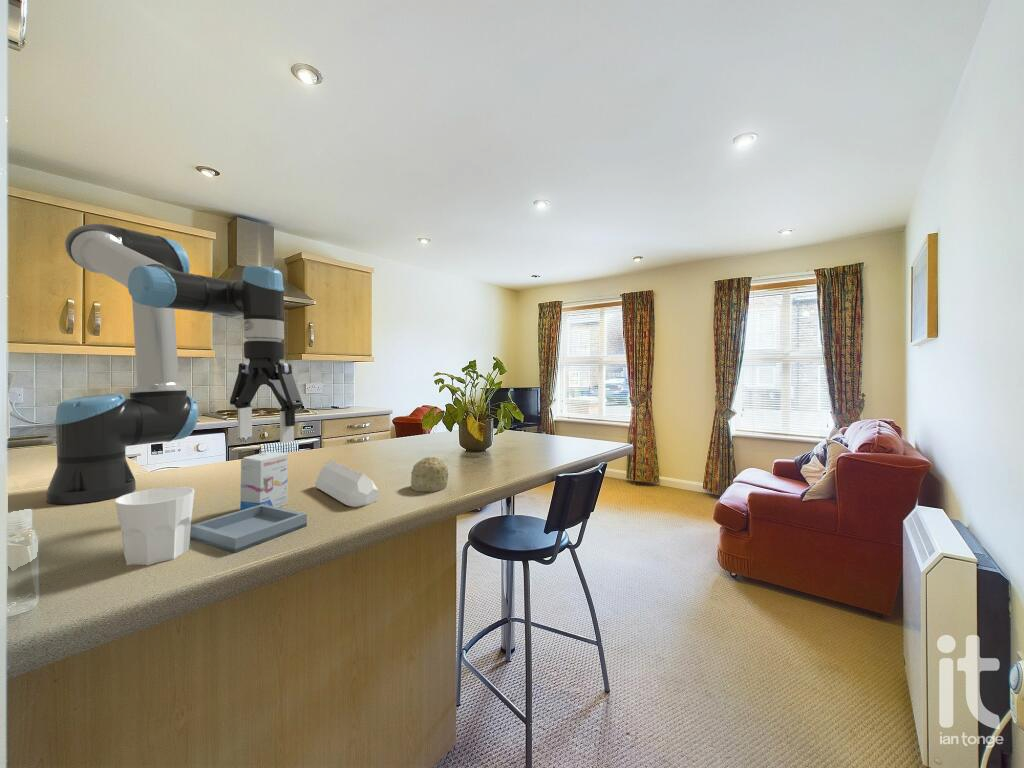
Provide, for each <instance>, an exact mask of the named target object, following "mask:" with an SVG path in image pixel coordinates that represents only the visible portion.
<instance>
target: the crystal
mask: <svg viewBox="0 0 1024 768" xmlns="http://www.w3.org/2000/svg"><path fill="white" fill-rule="evenodd" d="M315 488H317V489H319V490H320V491H322V492H324V493H325V494H328V495H329V496H330V497H332V498H333V499H335V500H337V501H339V502H341V503H342V504H344V505H346V506H349V507H353V508H356V507H363V506H368V505H371V504H374V503H375V502H377V500H379V489H378V487H377V486H376V485H375V483H374V481H373V480H372V478H370V477H368V476H367V475H365V474H364V473H362V472H359V471H357V470H355V469H353V468H350V467H349V466H346V465H344V464H341V463H339V462H336V461H334V460H332V459H330V460H328V461H327V462H325V463H324V465H323V467H322V468H321V470H320V472H319V473H318V475H317V477H316V481H315Z"/></svg>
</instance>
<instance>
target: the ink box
mask: <svg viewBox="0 0 1024 768" xmlns="http://www.w3.org/2000/svg"><path fill="white" fill-rule="evenodd" d="M288 472H289V453H286V452H278V451H266V452H262V453H256V454H253V455H248V456H243V458H242V459H240V508H239V509H240V510H239V511H241V510H244V509H247V508H251V507H254V506H258V505H261V504H265V505H270V506H274V507H279V508H282V507H283V506H285V505H287V504H288V487H289V486H288V479H289V478H288V477H289V476H288V474H289V473H288Z"/></svg>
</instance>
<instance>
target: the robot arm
mask: <svg viewBox="0 0 1024 768" xmlns="http://www.w3.org/2000/svg"><path fill="white" fill-rule="evenodd" d="M64 247H65V252H66V253H67V256H68V257H69V258H70V260H71V261H72V262H73V263H75V264H76V265H77V266H79V267H81V268H83V269H85V270H87V271H88V272H90V273H95V274H102V275H105V276H106V277H108V278H111V279H112V280H114V281H116V282H117V283H119V284H121V285H123V286H124V287H125V288H127V289H128V293H129V295H130V296H131V303H132V304H131V305H132V320H133V321H132V322H133V323H132V324H133V335H134V337H133V339H134V353H135V354H134V355H135V367H136V368H135V373H136V374H135V375H136V386H134V387H133V388H132V389H131V390H129V398H126V396H125V395H124V394H122V393H105V394H96V395H87V396H80V397H75V398H70V399H66V400H64V401H61V402H60V403H58V405H57V407H56V414H55V420H54V424H55V425H56V426H55V430H56V435H55V436H56V458H57V459H56V463H57V464H56V468H55V471H54V473H53V475H52V477H51V480H50V483H49V485H48V487H47V489H46V502H47V503H49V504H53V505H71V504H75V505H76V504H82V503H83V504H84V503H91V502H98V501H99V502H101V501H105V500H110V499H115V498H119V497H121V496H123V495H126V494H129V493H133V492H135V491H136V489H137V487H136V482H137V481H136V479H135V477H134V474H133V472H132V470H131V467H130V465H129V464H128V461H127V458H126V450H127V449H126V447H130V446H138V445H139V446H140V445H146V444H154V443H163V442H164V443H167V442H168V443H169V442H170V443H171V442H172V441H177V440H182V439H185V438H188V437H189V436H190V435H191V434H192V433H193V431H194V430H195V428H196V426H197V423H198V421H199V420H198V419H199V406H198V404H197V401H196V399H195V398H194V397H192V396H190V395H188V394H187V389H186V388H185V387H184V386H183V385H181V384H180V379H179V378H180V377H179V362H178V361H179V360H178V348H177V347H178V345H177V328H176V311H175V310H183V311H194V312H199V313H209V314H216V315H217V316H222V317H231V318H232V317H233V318H234V317H238V316H243V338H244V339H246V340H245V341H244V343H243V357H244V359H246V360H249V362H247V363H242V362H239V363H238V373H237V377H236V378H235V382H234V386H233V388H232V389H233V390H232V393H231V396H230V399H229V404H230V405H233V406H234V408H236V411H237V413H236V414H237V418H236V419H237V438H238V439H243V438H245V439H246V438H249V437H251V438H252V437H253V408H252V404H251V403H252V401H253V399H254V397H255V396H256V394H257V392H258V390H259V388H260V387H261V386H262V385H266V386H267V387H269V388H270V390H271V391H272V393H273V395H274V396H275V398H276V400H277V402H278V403H279V405H280V407H281V409H280V410H279V443H280V444H281V443H282V444H284V443H290V442H294V441H295V425H296V410H297V409H299V408H303V406H304V403H303V400H302V398H301V395H300V393H299V389H298V387H297V383H296V380H295V378H294V375H293V368H292V364H291V363H288V362H287V363H285V362H281V360H283V359H284V358H285V344H284V342H282V341H283V340H285V328H284V327H285V323H284V315H285V314H284V313H285V312H284V311H285V309H284V303H285V301H284V299H285V297H284V296H285V295H284V293H285V292H284V291H285V288H284V281H283V279H284V278H283V274H282V273H283V272H281V271H280V270H278V269H277V268H274V267H269V266H262V265H248V266H246V267H244V268H243V269H242V276H241V279H240V280H229V279H224V278H223V279H222V278H218V277H213V276H205V275H201V274H193V273H191V272H190V271H191V265H190V259H189V256H188V253H187V252H186V250H185V248H184V247H183V246H182V245H181V244H180V243H179V242H177V241H175V240H173V239H169V238H166V237H164V236H161V235H154V234H151V233H146V232H145V233H144V232H142V231H141V232H140V231H136V230H133V229H129V228H128V229H127V228H123V227H119V226H115V225H111V224H104V223H92V224H91V223H90V224H84V225H81V226H78V227H76V228H74V229H72V230H71V231H70V232H69V233H68V234H67V236H66V238H65V240H64Z"/></svg>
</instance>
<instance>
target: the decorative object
mask: <svg viewBox="0 0 1024 768" xmlns="http://www.w3.org/2000/svg"><path fill="white" fill-rule="evenodd" d="M448 470H449V469H448V465H447V464H446V463H445V462H444V461H443V460H442V459H440V458H439V457H436V456H426V457H423V458H422V459H421V460H419V461H417V462H416V463H414V465H413V467H412V470H411V474H410V475H411V476H410V477H411V478H410V479H411V480H410V485H411V489H412V490H414V491H417V492H423V493H424V492H425V493H426V492H428V493H429V492H430V493H434V492H439V491H442V490H444V489H445V488H446V487H447V485H448V480H449V479H448V478H449V472H448Z"/></svg>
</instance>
